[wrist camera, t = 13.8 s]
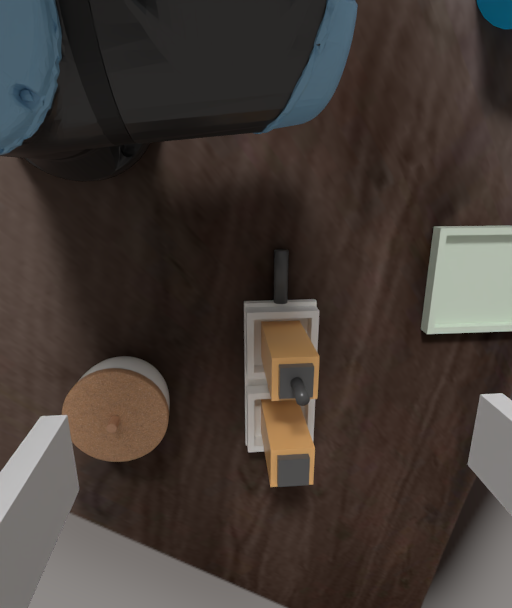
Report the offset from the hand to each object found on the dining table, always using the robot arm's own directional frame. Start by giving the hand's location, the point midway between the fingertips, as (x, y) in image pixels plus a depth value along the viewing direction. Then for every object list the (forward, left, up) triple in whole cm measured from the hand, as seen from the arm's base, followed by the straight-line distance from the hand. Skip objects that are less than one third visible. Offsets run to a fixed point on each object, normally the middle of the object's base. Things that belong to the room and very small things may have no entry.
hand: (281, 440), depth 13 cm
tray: (+29, -4, -35) cm, 45 cm away
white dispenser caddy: (+5, -13, -35) cm, 37 cm away
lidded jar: (-13, -16, -35) cm, 41 cm away
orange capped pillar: (+5, -21, -34) cm, 40 cm away
